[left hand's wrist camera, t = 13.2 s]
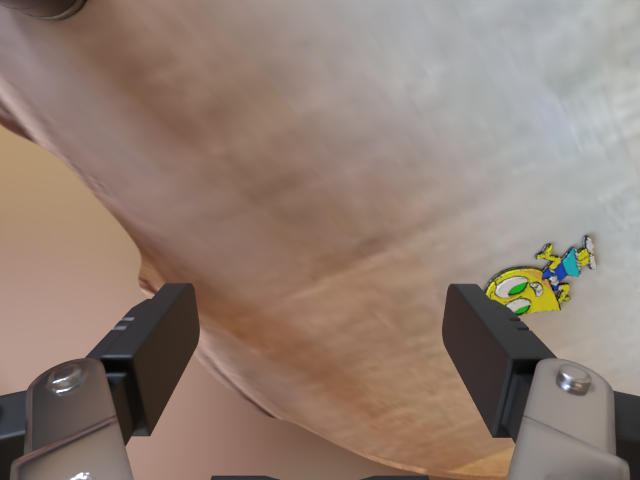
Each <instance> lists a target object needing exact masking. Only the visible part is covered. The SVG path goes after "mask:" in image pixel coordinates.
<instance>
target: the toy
mask: <svg viewBox="0 0 640 480" xmlns="http://www.w3.org/2000/svg"><path fill="white" fill-rule="evenodd" d="M583 244H584V248H582V249H580V250H579V251H578V252H577V250H576V249H575V248H574V247H571V248H570V250H569V251H568V252H567V253H566V255H565V256H564V258H563V259H562V258H560V257H559V256H554V255H551V252H552V249H551V248H552V246H551V244H547V245H546V246H545V247H544V249H543V251H542V252H541V253H538V254H537V255H536V256H535V258H536V259H542V258H543V259H546V260H550V261H551V262H550V263H549V264H548V265H547V266H546V267H545V269H544V270H543V271H542V270H541V269H538V268H535V267H516V268H511V269H508V270H505V271H503V272H501V273H499V274H498V275H496V276H495V277H494V278H493V279H492V280H490V282H489V283H488V284H487V286H486V288H485V290H484V292H485V294H486V295H487V296H488V297H489V298H490V299H491V300H496V301H498V302H500V303H502V304H503V305H505V306H507V307H508V308H510V309H511V310H512V311H513V312H514V313H516V315H517V316H518V317H519V316H520V315H526V314H530V313H534V312H540V311H556V310H557V311H560V310H561V308H560V305H559V304H558V302H561V301H566V302H568V300H571V299H570V297H569V296H568V295H567V293H568V290H569V288H570V287H569V284H568V283H561V284H559V282H560V281H561V280H563V279H564V278H565V277H566V276H567V275H570V276H573V277H578V276H579V275H582V274H581V273H580V272H581V270H580V269H581V268H580V267H579V266H584V265H586V264H587V265H588V267H589V269H592V270H596V264H595V259H594V256H593V255H592V254H593V247H594V246H593V244H592V240H591V239H590V238H589V237H588V236H586V235H585V236H584V239H583ZM582 253H583V254H582ZM572 254H573V255H572ZM580 255H581V256H580ZM587 255H588V256H587ZM550 257H551V258H550ZM558 259H559V260H558ZM553 260H554V261H553ZM553 265H554V266H553ZM521 271H522V272H521ZM526 274H527V275H526ZM550 274H551V275H550ZM549 275H550V276H549ZM525 276H526V277H525ZM537 277H538V279H537ZM563 277H564V278H563ZM516 278H518V279H516ZM554 278H555V279H554ZM522 279H523V280H522ZM509 280H510V281H509ZM542 281H543V283H542ZM504 283H505V284H504ZM493 285H494V286H493ZM545 285H547V286H545ZM524 286H525V287H524ZM550 286H551V287H550ZM566 286H567V287H566ZM500 287H501V288H500ZM522 288H523V289H522ZM556 288H557V289H556ZM490 289H491V290H490ZM499 289H500V290H499ZM566 289H567V290H566ZM520 290H521V291H520ZM547 290H548V291H547ZM557 290H561V291H560V292H559V294H558V296H557V297H556V295H555V293H554V291H557ZM490 291H492V292H490ZM497 293H498V294H497ZM540 296H541V297H540ZM492 297H493V298H492ZM564 298H565V299H564ZM515 302H516V303H515ZM553 309H554V310H553Z"/></svg>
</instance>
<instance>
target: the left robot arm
mask: <svg viewBox="0 0 640 480" xmlns="http://www.w3.org/2000/svg"><path fill="white" fill-rule="evenodd" d="M84 1H85V0H0V5H2V6H5V7H8V8H11V9H14V10H17V11H20V12H22V13H24V14H26V15H29V16H32V17H35V18H38V19H42V20H48V21H56V20H62V19H65V18H67V17H69V16H71V15H73V14H74V13H75V12H76V11H77V10H78V9H79V8H80V7H81V6H82V4H83V3H84ZM199 334H200V326H199V318H198V311H197V304H196V297H195V290H194V287H193V285H192V284H191V283H166V284H164V285H163V287H162V288H161V289H160V290H159V291H158V292H157V293H156V294H155V296H154V297H153V298H152V299H146V300H145V301H143V302H141V303H140V304H138V305H136V306H135V307H133V308H132V309H131V310H130V311H129V312H128V313H127V314H126V315H125V316H124V317H123V318H122V321H119V322H118V323H117V324H116V325H115V327H114V329H113V330H111V331H110V332H109V333H108V334H107V335H106V336H105V337H104V338H103V339H102V340H101V341H100V342H99V343H98V345H97V346H96V347H95V348H94V349H93V350H92V351H91V352H90V353H89V354H88V355H87V356H86V357H85V358H81V359H75V360H71V361H67V362H64V363H62V364H59V365H57V366H55V367H52V368H51V369H49V370H47V371H45V372H44V373H42V374H41V375H40V376H38V377H37V378H36V379H35V380H34V381H33V382H32V383H31V384H30V386H29V387H28V389H27V390H26V391H21V392H16V393H11V394H7V395H2V396H0V480H134V478H133V475H132V471H131V467H130V463H129V459H128V456H127V452H126V448H125V447H126V445H127V443H128V441H129V440H130V438H131V436H150V435H151V433H152V431H153V429H154V428H155V426H156V424H157V422H158V420H159V418H160V416H161V414H162V412H163V410H164V408H165V406H166V405H167V402H168V401H169V399H170V397H171V395H172V393H173V391H174V389H175V387H176V385H177V383H178V381H179V380H180V378H181V376H182V374H183V372H184V370H185V368H186V366H187V364H188V362H189V360H190V358H191V356H192V355H193V353H194V351H195V349H196V347H197V344H198V341H199ZM442 337H443V342H444V345H445V348H446V350H447V352H448V353H449V355H450V357H451V359H452V361H453V363H454V365H455V367H456V369H457V371H458V372H459V374H460V376H461V378H462V380H463V382H464V384H465V386H466V388H467V390H468V391H469V393H470V395H471V397H472V399H473V401H474V403H475V405H476V407H477V409H478V410H479V412H480V414H481V416H482V418H483V420H484V422H485V424H486V426H487V428H488V429H489V431H490V433H491V435H492V437H493V438H512V439H513V441H514V443H515V448H514V452H513V456H512V459H511V463H510V467H509V471H508V474H507V478H506V480H640V396H635V395H631V394H626V393H621V392H617V391H613V389H612V387H611V386H610V384H609V383H608V382H607V381H606V380H605V379H604V378H603V377H602V376H600V375H599V374H598V373H596V372H595V371H593V370H591V369H589V368H588V367H586V366H583V365H581V364H579V363H576V362H573V361H569V360H565V359H559V358H557V357H556V356H555V355H554V354H553V353H552V352H551V351H550V350H549V349H548V348H547V347H546V346H545V344H544V343H543V342H542V341H541V340H540V339H539V338H538V337H537V336H536V335H535V334H534V333H533V332H532V331H529V328H528V327H527V326H526V325H525V324H524V322H523V321H520V318H519V317H518V316H517V315H516V314H515V313H514V312H513V311H512V310H511V309H510V308H508V307H507V306H505V305H503V304H502V303H500V302H498V301H496V300H491V299H490V298H489V297H488V296H487V295H486V294H485V292H484V291H483V290H482V289H481V288H480V287H479V286H478V285H477V284H450V286H449V287H448V291H447V297H446V304H445V311H444V318H443V325H442ZM211 480H279V479H275V478H271V477H268V476H212V478H211ZM361 480H429V478H428V476H372V477H369V478H365V479H361Z"/></svg>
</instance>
